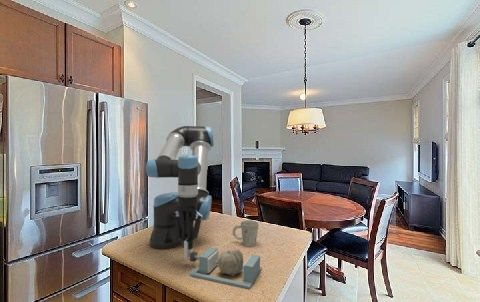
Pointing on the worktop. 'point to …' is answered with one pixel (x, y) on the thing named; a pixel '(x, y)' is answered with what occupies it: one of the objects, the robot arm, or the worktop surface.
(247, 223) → the mug
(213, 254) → the jaw
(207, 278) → the vise
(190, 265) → the worktop surface
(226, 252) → the garlic bulb
